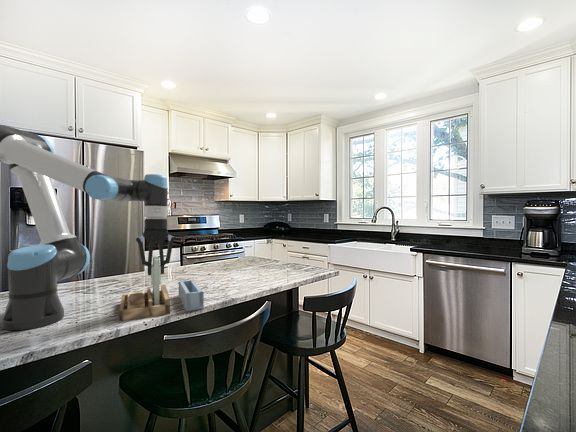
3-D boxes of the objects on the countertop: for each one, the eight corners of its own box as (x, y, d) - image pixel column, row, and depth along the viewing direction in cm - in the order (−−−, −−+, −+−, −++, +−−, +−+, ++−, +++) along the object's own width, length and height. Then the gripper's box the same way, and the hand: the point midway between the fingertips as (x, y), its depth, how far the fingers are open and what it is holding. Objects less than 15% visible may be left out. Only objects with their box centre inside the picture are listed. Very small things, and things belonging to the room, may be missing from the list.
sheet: (154, 306, 104) (154, 260, 104) (152, 297, 115) (152, 255, 115) (159, 306, 105) (159, 259, 105) (157, 296, 116) (157, 254, 116)
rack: (119, 320, 96) (119, 304, 96) (122, 303, 114) (122, 289, 114) (170, 313, 103) (170, 298, 103) (165, 297, 121) (165, 285, 121)
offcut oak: (127, 318, 99) (127, 306, 99) (128, 312, 104) (128, 301, 104) (144, 316, 101) (144, 304, 101) (144, 310, 106) (144, 299, 106)
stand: (185, 311, 105) (185, 293, 105) (178, 296, 123) (178, 281, 123) (203, 308, 108) (203, 291, 108) (194, 294, 126) (194, 279, 125)
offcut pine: (127, 309, 108) (127, 296, 108) (130, 304, 113) (129, 292, 113) (143, 307, 109) (143, 295, 109) (144, 302, 115) (144, 290, 115)
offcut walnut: (130, 305, 99) (130, 297, 99) (129, 301, 103) (129, 294, 103) (144, 303, 101) (144, 296, 101) (142, 299, 106) (142, 292, 105)
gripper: (132, 218, 103) (132, 288, 103) (178, 218, 109) (178, 284, 110) (133, 217, 110) (133, 283, 110) (176, 217, 116) (176, 279, 117)
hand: (155, 283), depth 110 cm, fingers closed on sheet, 2 cm apart
